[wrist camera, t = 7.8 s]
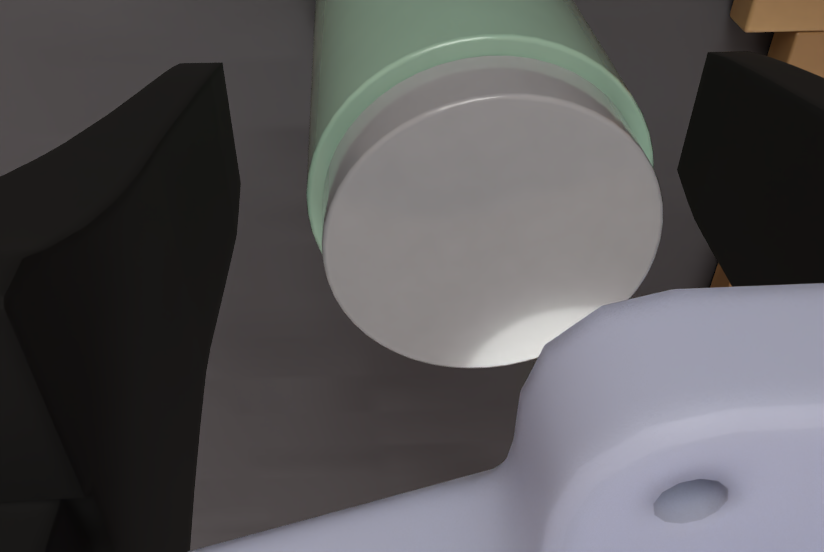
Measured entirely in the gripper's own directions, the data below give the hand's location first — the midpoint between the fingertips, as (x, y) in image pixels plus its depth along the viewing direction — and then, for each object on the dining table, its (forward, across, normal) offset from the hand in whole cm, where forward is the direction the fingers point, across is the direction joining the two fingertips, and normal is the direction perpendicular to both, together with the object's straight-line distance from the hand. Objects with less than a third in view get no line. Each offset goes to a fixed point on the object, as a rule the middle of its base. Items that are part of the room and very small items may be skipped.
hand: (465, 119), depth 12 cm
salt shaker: (+4, 0, 0) cm, 4 cm away
